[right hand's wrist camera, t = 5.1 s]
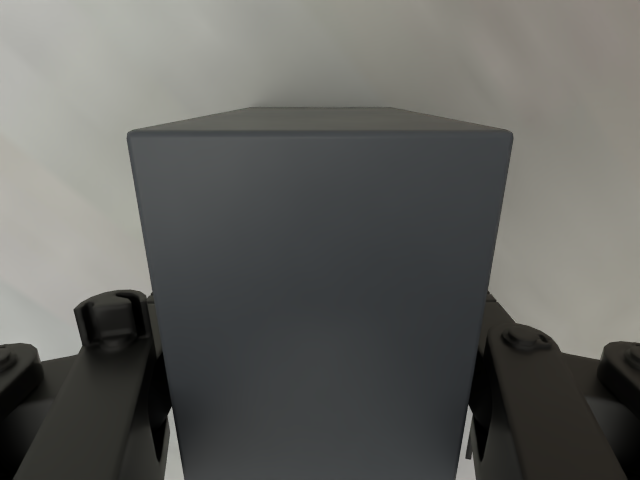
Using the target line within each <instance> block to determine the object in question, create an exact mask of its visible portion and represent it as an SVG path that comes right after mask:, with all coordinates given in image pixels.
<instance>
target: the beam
mask: <svg viewBox="0 0 640 480" xmlns="http://www.w3.org/2000/svg"><path fill="white" fill-rule="evenodd" d="M127 144H128V150H129V155H130V161H131V167H132V173H133V179H134V185H135V191H136V197H137V203H138V208H139V214H140V220H141V226H142V232H143V238H144V244H145V250H146V256H147V261H148V267H149V273H150V279H151V285H152V291H153V297H154V303H155V309H156V315H157V320H158V326H159V332H160V338H161V344H162V350H163V356H164V362H165V368H166V373H167V379H168V385H169V391H170V397H171V403H172V409H173V415H174V421H175V426H176V432H177V438H178V444H179V450H180V456H181V462H182V468H183V474H184V480H455V479H456V473H457V468H458V462H459V456H460V450H461V444H462V438H463V432H464V426H465V420H466V414H467V409H468V403H469V397H470V391H471V385H472V379H473V373H474V367H475V361H476V356H477V350H478V344H479V338H480V332H481V326H482V320H483V314H484V308H485V303H486V297H487V291H488V285H489V279H490V273H491V267H492V261H493V255H494V250H495V244H496V238H497V232H498V226H499V220H500V214H501V208H502V202H503V197H504V191H505V185H506V179H507V173H508V167H509V161H510V155H511V149H512V144H513V134H512V132H510V131H508V130H505V129H500V128H494V127H489V126H484V125H479V124H474V123H468V122H463V121H458V120H453V119H448V118H442V117H437V116H432V115H427V114H422V113H416V112H411V111H406V110H401V109H396V108H245V109H239V110H234V111H229V112H224V113H219V114H213V115H208V116H203V117H198V118H192V119H187V120H182V121H177V122H172V123H166V124H161V125H156V126H151V127H145V128H140V129H135V130H132V131H130V132H128V133H127Z"/></svg>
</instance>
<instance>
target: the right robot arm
mask: <svg viewBox="0 0 640 480" xmlns="http://www.w3.org/2000/svg"><path fill="white" fill-rule="evenodd" d="M74 314H75V317H76V321H77V325H78V329H79V333H80V337H81V341H82V345H83V346H82V348H81V350H80V352H79V353H78V354H77V355H73V356H69V357H63V358H58V359H53V360H47V361H42V362H41V361H40V358H39V354H38V351H37V348H35V347H34V346H32V345H31V344H24V343H16V344H4V345H0V480H164V476H165V468H166V460H167V452H168V445H169V437H170V429H169V422H168V417H167V415H168V413H169V411H170V409H171V407H172V403H171V397H170V391H169V385H168V379H167V373H166V368H165V362H164V356H163V350H162V344H161V338H160V332H159V326H158V320H157V315H156V309H155V303H154V297H153V292H152V293H151V296H149V297H148V298H146V295H144V294H143V293H142V292H140V291H135V290H116V291H110V292H105V293H102V294H99V295H96V296H93V297H90V298H89V299H87V300H85V301H83V302H81V303H80V304H79V305H78V306H77V307H76V308H75V309H74ZM468 404H469V406H470V409H471V411H472V413H473V417H472V422H471V428H470V434H469V439H468V445H467V451H466V457H465V459H470V460H471V455H472V452H473V459H474V467H475V475H476V480H640V343H636V342H633V343H632V342H623V341H619V342H611V343H609V344H607V345H606V346H605V347H604V349H603V352H602V355H601V359H600V360H597V359H592V358H586V357H581V356H576V355H570V354H566V353H562V352H561V351H560V349H559V347H558V345H557V344H556V343H555V342H554V340H553V339H552V338H551V337H549V336H548V335H546V334H545V333H543V332H542V331H540V330H537V329H535V328H532V327H530V326H527V325H522V324H517V323H515V322H514V320H513V319H512V318H511V317H510V316H509V315H508V313H507V312H506V311H505V310H504V309H503V308H502V306H501V305H500V304H499V303H498V302H496V299H495V298H494V297H493V296H492V295H491V294H490V292H489V291H487V297H486V303H485V308H484V314H483V320H482V326H481V332H480V338H479V344H478V350H477V356H476V361H475V367H474V373H473V379H472V385H471V391H470V397H469V403H468Z"/></svg>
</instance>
